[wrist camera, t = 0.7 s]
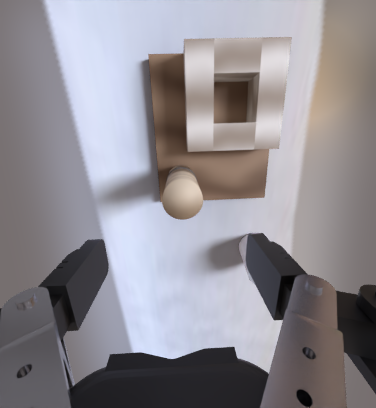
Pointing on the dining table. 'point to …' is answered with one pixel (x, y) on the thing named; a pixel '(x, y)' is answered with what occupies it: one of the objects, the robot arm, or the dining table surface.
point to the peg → (182, 193)
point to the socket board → (220, 112)
